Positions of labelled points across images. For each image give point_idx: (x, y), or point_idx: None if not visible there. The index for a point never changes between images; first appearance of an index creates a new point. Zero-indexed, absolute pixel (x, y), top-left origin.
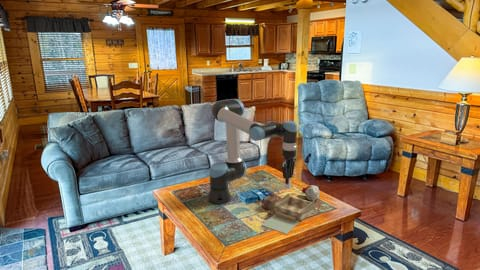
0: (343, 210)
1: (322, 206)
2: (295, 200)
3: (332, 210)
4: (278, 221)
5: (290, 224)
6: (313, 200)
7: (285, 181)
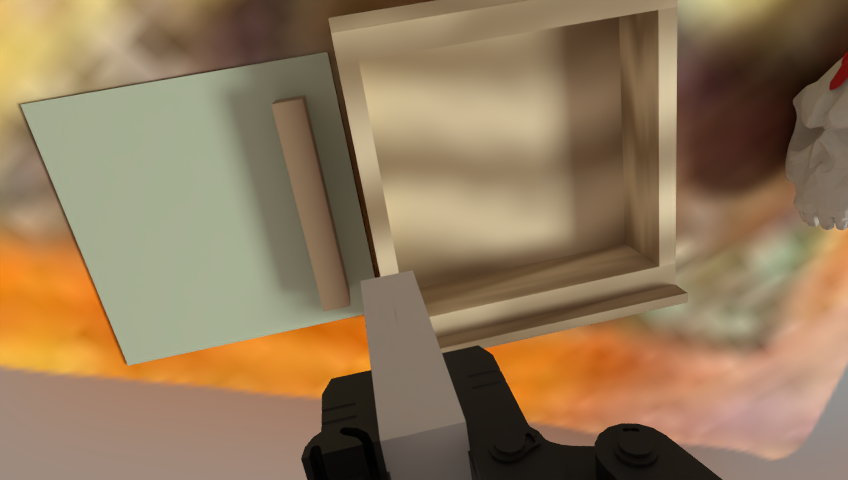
0: (757, 401)
1: (736, 265)
2: (643, 86)
3: (714, 354)
4: (223, 184)
5: (273, 291)
6: (785, 167)
7: (324, 424)
